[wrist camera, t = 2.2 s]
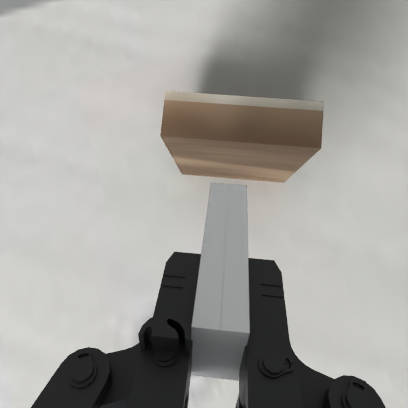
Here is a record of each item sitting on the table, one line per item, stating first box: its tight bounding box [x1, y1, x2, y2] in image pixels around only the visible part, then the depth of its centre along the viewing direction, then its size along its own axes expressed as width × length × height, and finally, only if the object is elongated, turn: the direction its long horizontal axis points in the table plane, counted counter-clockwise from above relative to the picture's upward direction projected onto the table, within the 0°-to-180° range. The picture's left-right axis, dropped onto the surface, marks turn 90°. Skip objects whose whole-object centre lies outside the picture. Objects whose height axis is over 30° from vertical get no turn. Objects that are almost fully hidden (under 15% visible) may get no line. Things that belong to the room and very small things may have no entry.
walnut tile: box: [161, 91, 324, 183], centre depth 27 cm, size 3×10×12 cm, turn 85°
